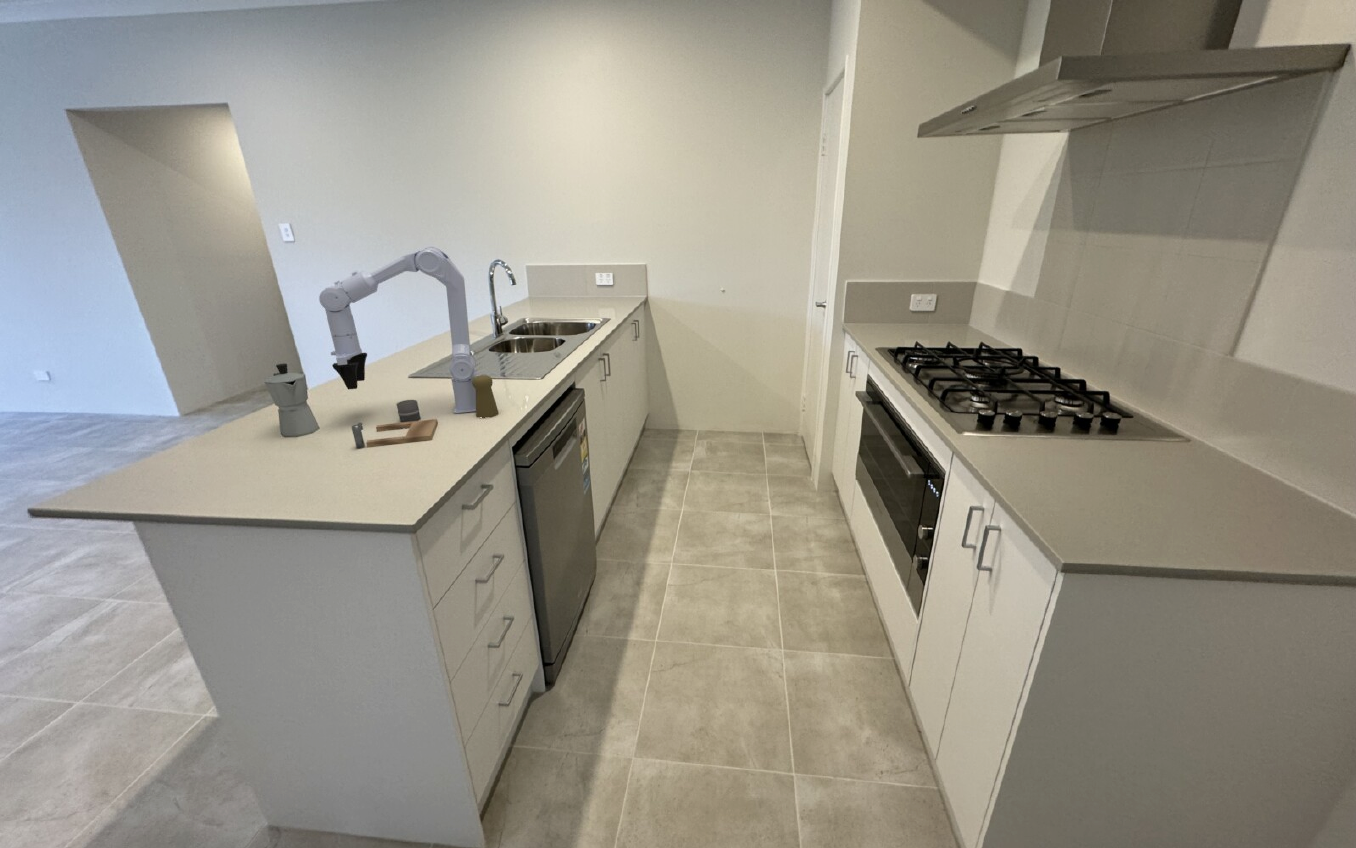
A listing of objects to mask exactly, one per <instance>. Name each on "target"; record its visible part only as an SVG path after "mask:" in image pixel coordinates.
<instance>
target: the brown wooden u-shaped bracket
mask: <svg viewBox="0 0 1356 848" xmlns="http://www.w3.org/2000/svg"><path fill="white" fill-rule="evenodd" d="M438 423H439V422H438V419H437V418H434V419H433V418H431V419H423V420H419V421H413V422H403V423H401V422H394V423H387V424H385V423H383V424H377V425H376V426H375V428H376V432H385V431H386V430H387V431H395V429H396V430H403V428H405V429H407V432H406V434H405V435H404V436H396V437H393V436H392V437H387V438H376V439H367V441H366V442H365V443H366V444H365V445H366V447H367V448H373V447H380V446H388V445H389V446H390V445H391V446H392V445H399V444H406V443H407V444H408V443H415V442H416V443H417V442H418V443H419V442H425V441H432V440H433V438H434V434H435V432H436V429H437V427H438Z"/></svg>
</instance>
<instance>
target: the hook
mask: <svg viewBox="0 0 1356 848" xmlns="http://www.w3.org/2000/svg"><path fill="white" fill-rule="evenodd" d="M351 430H352V435H353V439H354V442H355V447H356V449H357V450H358V449H359V450H360V449H364V448H365V447H366V444H365V440H364V437H363V436H364V435H363V433H362V430H364V428H363V422H358V423H357V424H353V425H351Z"/></svg>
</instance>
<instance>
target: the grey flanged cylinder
mask: <svg viewBox="0 0 1356 848" xmlns="http://www.w3.org/2000/svg"><path fill="white" fill-rule="evenodd" d="M396 407H397V415H398V418H399V421H400V422H399V423H403V422H413V421H421V415H420V408H419V403H418V400H416V399H406V400H401V401H399V402H396Z"/></svg>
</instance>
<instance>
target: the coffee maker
mask: <svg viewBox="0 0 1356 848" xmlns="http://www.w3.org/2000/svg"><path fill="white" fill-rule="evenodd" d="M275 367H276V368H277V371H278V372H277V373H273V376H271V377H270V376H269V377H268V378H266V380H265V381H264V385H265V387H266V389H267V391H268V393H269V394H270V397H271V400H272V401H273V403H274V406H276V407H278V410H277V412H278V422H279V423H278V424H279V430H280V432H279V433H280V435H281V436H282V437H283V438H285V439H286V438H299V437H303V436H308V435H312V434H314V433H315V432H317V431H319V430H320V429H321V428H320V426H319V423H318V421H317V419H316V417H315V415H314V413H313V411H312V409H311V407H310V405H309V404H308V400H309V394H308V388H307V386H308V385H307V378H306V374H305V373H297V372H288V364H287V363H278V364H276V365H275Z"/></svg>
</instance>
